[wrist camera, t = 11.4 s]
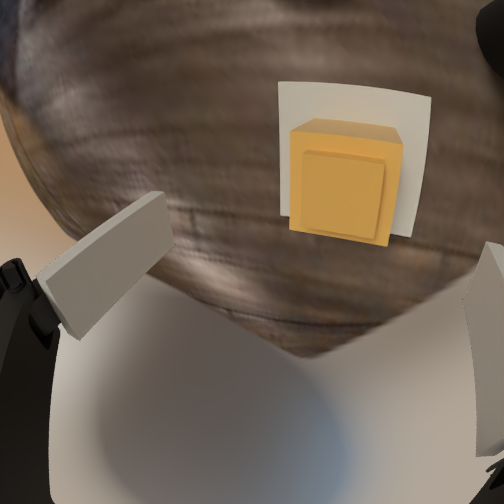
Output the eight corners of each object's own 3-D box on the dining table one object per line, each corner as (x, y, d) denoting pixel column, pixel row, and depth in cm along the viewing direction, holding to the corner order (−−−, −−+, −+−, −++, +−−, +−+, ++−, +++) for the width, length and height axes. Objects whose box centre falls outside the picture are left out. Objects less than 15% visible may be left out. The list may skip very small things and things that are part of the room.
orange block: (312, 192, 24) (283, 238, 18) (314, 118, 21) (283, 134, 15) (386, 203, 22) (386, 257, 16) (395, 127, 19) (405, 149, 12)
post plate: (283, 210, 28) (260, 242, 23) (281, 81, 21) (253, 81, 16) (409, 232, 23) (414, 270, 19) (428, 96, 17) (446, 100, 12)
